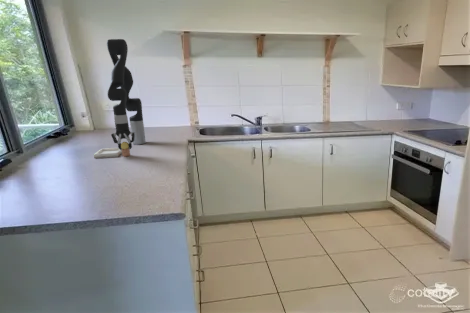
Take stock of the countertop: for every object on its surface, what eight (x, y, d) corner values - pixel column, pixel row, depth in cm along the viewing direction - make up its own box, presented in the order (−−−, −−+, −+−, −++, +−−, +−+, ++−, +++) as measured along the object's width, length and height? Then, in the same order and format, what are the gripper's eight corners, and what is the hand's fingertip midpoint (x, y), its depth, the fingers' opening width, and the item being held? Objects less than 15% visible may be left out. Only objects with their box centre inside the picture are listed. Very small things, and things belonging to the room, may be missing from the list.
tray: (101, 152, 184) (101, 148, 184) (123, 151, 186) (123, 147, 185) (94, 158, 171) (93, 154, 170) (117, 156, 173) (117, 152, 172)
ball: (122, 148, 175) (121, 141, 174) (130, 148, 176) (129, 140, 174) (120, 150, 170) (119, 143, 169) (128, 150, 171) (127, 142, 169)
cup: (123, 155, 176) (122, 148, 175) (131, 154, 177) (130, 147, 175) (121, 157, 172) (120, 149, 170) (129, 156, 172) (128, 149, 171)
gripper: (135, 120, 173) (138, 147, 177) (111, 121, 171) (115, 148, 176) (132, 122, 165) (136, 149, 170) (107, 123, 164) (111, 151, 168)
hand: (125, 149), depth 173 cm, fingers closed on ball, 5 cm apart
